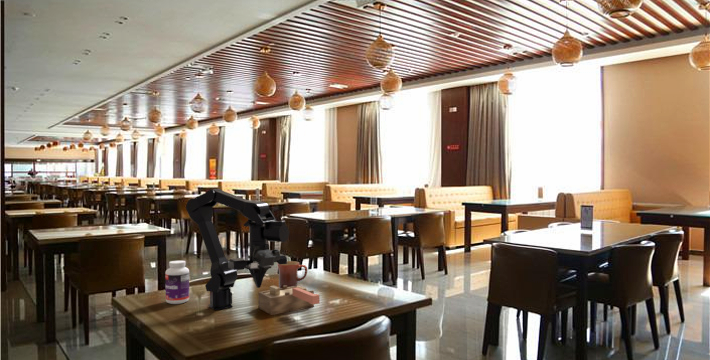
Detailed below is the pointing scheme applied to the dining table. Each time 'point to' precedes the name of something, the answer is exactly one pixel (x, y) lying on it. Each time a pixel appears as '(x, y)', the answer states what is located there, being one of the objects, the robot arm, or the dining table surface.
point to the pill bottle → (177, 282)
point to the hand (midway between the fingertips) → (258, 287)
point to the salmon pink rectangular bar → (306, 295)
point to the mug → (290, 274)
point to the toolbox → (281, 302)
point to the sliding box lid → (281, 291)
